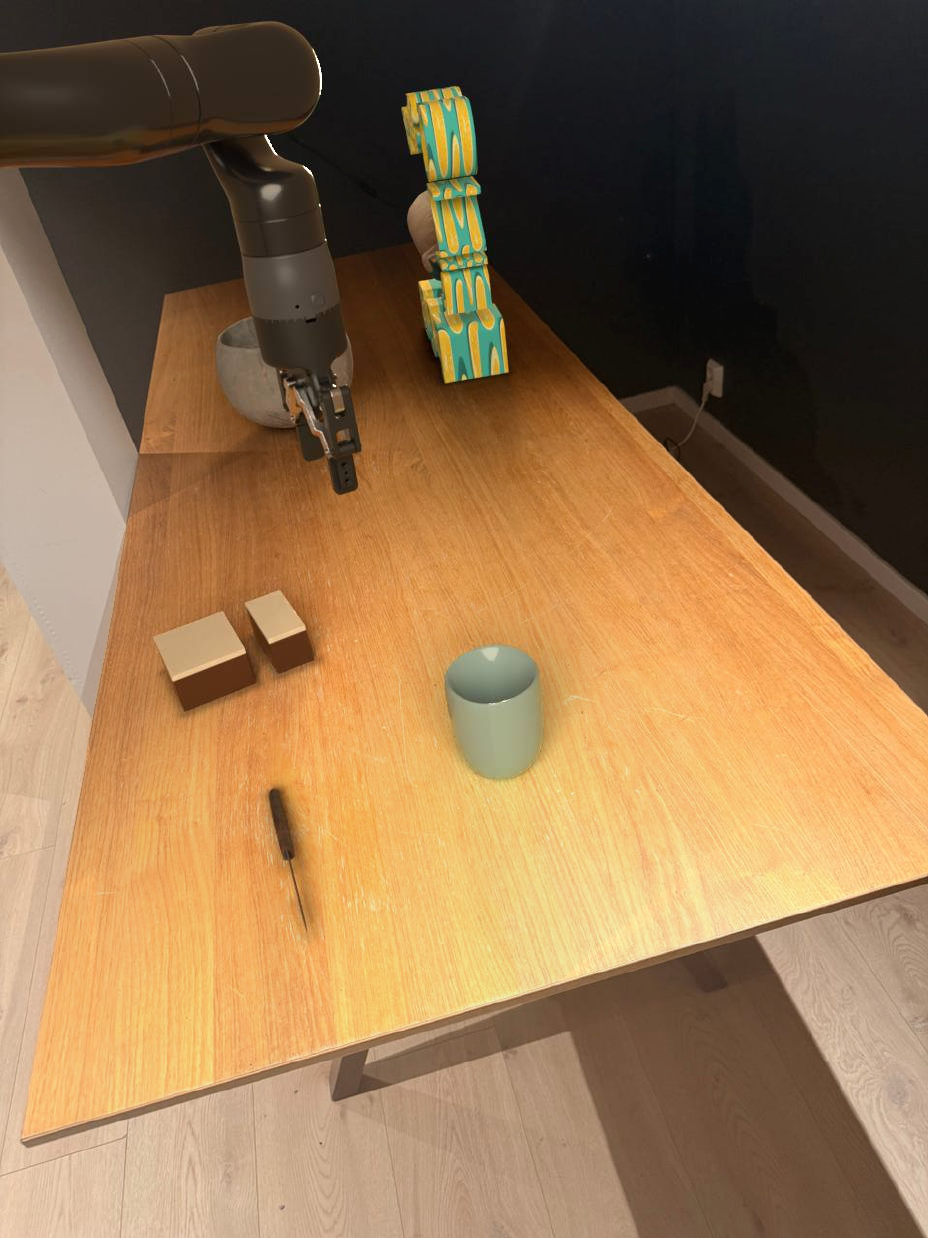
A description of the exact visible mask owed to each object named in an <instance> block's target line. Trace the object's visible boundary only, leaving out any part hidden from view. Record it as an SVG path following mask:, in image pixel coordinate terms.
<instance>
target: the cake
mask: <svg viewBox="0 0 928 1238" xmlns="http://www.w3.org/2000/svg"><path fill="white" fill-rule="evenodd" d="M152 638H153V641H154V644H155V647H156V649H157V652H158V654H159V657H160V659H161V661H162V664H163V667H164V669H165V672H166V674H167V677H168V679H169V681H170V683H171V685H172V687H173V690H174V693H175V695H176V697H177V699H178V701H179V703H180V705H181V708H182V710H183V712H188V711H191V710H193V709H195V708H198V707H200V706H202V705H205V704H208V703H210V702H212V701H215V700H217V699H220V698H222V697H225V696H227V695H230V694H232V693H235V692H238V691H240V690H242V689H246V688H248V687H250V686H252V685H255V684H256V683H257V682H256V678H255V675H254V673H253V670H252V667H251V663H250V659H249V657H248V653H247V651H246V648H245V646H244V645H243V643H242V641H241V640H240V638H239V637H238V634H237V633H236V631H235V629H234V628H233V626H232V625H231V622H230V621H229V619H228V617H227V615H226V614H225V613H224V611H223V610H220V611H219V612H216V613H213V614H210V615H208V616H205V617H202V618H200V619H196V620H194V621H191V622H189V623H187V624H183V625H181V626H178V627H175V628H173V629H170V630H167V631H164V632H162V633H160V634H157V635H154V636H152Z"/></svg>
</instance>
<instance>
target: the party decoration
mask: <svg viewBox="0 0 928 1238" xmlns="http://www.w3.org/2000/svg"><path fill="white" fill-rule="evenodd" d="M405 96H406V106H402V107H401V114H402V120H403V123H404V128H405V133H406V138H407V145H408V149H409V153H410V155H411V156H412V155H417V154H418V155H419V154H422V157H423V163H424V169H425V174H426V178H427V181H428V182H427V183H426V190H425V191H423V192H422V193H420V194H418V196H417V197H416V198H415V199H414V201H413V203H412V204H411V205H410V207H409V208H408V212H407V217H406V222H407V223H406V224H407V226H408V231H409V234H410V236H411V239H412V241H413V243H414V246H415V247H416V249H417V251H418V252H419V255H420V256H421V262H422V264H423V267H424V269H425V270H426V272H427V273H428V274H429V276H431V277H432V279H426V280H419V281H418V282H417V283H418V290H419V297H420V303H421V304H420V305H421V311H422V312H421V313H422V319H423V325H424V330H425V332H426V335H427V337H428V340H430V343H431V344H430V345H431V348H432V351H433V353H434V357H435V358H439V361H440V366H441V374H442V379H443V381H444V384H449V383H454V382H461V381H465V380H472V379H479V378H484V377H485V378H486V377H490V376H495V375H502V374H507V373H509V363H508V362H509V360H508V351H507V340H506V329H505V323H504V317H503V315H502V314H501V312H500V311H499V309H498V307H497V305H496V303H493V301H492V293H491V283H490V275H489V269H488V266H487V265H488V264H489V262H488V256H487V255H486V253H485V252H486V251H487V242H486V237H485V236H486V235H485V232H484V227H483V221H482V217H481V212H480V208H479V202H478V198H477V195H481V194H482V189H481V185H480V184H479V183H478V181H477V180H476V179H475V177H474V175H477V174H478V151H477V141H476V140H477V139H476V132H475V123H474V117H473V112H472V106H471V101H470V99H469V98H468V97H466V96H465V95H463V94H462V91H461V88H460V87H459V86H457V85H455V86H449V87H448V86H447V87H442V88H434V89H429V90H421V91H415V92H408V93H405ZM426 328H427V329H426Z"/></svg>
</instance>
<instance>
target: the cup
mask: <svg viewBox="0 0 928 1238" xmlns="http://www.w3.org/2000/svg"><path fill="white" fill-rule="evenodd" d="M540 672H541V671H540V668H539V666H538V665H537V662H536V661H535V660H534V659H533V658H532V656H530V655H529V654H528V653H526V652H525V651H524V650H522V649H519V648H516V647H514V646H511V645H507V644H487V645H483V646H478V647H476V648H475V647H474V648H473V649H470V650H468V651H466V652H464V653H463V654H461V655H459V656H458V657H457V658H455V659H454V661H452V662H451V663H450V664H449V665H448V667H447V669H446V670H445V673H444V681H443V682H444V683H443V685H444V694H445V701H446V705H447V711H448V716H449V717H448V718H449V722H450V726H451V730H452V734H453V738H454V740H455V741H454V742H455V744H456V746H457V749H458V752H459V754H460V756H461V757H462V759H463V760H464V762H465V763H466V765H467V766H468V767H469V768H470V769H471V770H472V771H473V772H475V773H476V774H478V775H480V776H481V777H484V778H486V779H489V780H494V781H504V780H509V779H513V778H516V777H518V776H520V775H521V774H523V773H525V772H526V771H527V770H528V769H530V768H531V767H532V766H533V764H534V763H535V762H536V760H538V757H539V755H540V753H541V750H542V746H543V741H544V735H545V712H544V711H545V709H544V700H543V699H544V698H543V687H542V679H541V673H540Z"/></svg>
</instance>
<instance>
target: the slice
mask: <svg viewBox="0 0 928 1238" xmlns="http://www.w3.org/2000/svg"><path fill="white" fill-rule="evenodd" d="M244 606H245V609H246V612H247V615H248V619H249V623H250V625H251V629H252V632H253V635H254V637H255V638H256V641H257V642H258V644H259V645H260V647H261V649H262V651H263V652H264V654H265V655H266V657H267V659H268V660H269V662H270V664H271V665H272V666H273V668H274V670H275V671H276V673H277V674H278V675H281V674H282V673H284V672H287V671H290V670H292V669H294V668H297V667H299V666H302V665H304V664H308V663H310V662H312V661H315V658H314V653H313V650H312V646H311V642H310V638H309V635H308V631H307V627H306V625H305V623H304V622H303V620H302V619H301V618H300V616H299V614H298V613H297V612H296V611H295V609H294V608H293V607H292V605H291V603H290V602H289V601H288V599H287V598H286V596H285V595H284V594H283V592H282V590H281V589H278V590H275V591H272V592H270V593H267V594H264V595H262V596H258V597H256V598H253V599H251V600H248V601H245V602H244Z"/></svg>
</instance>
